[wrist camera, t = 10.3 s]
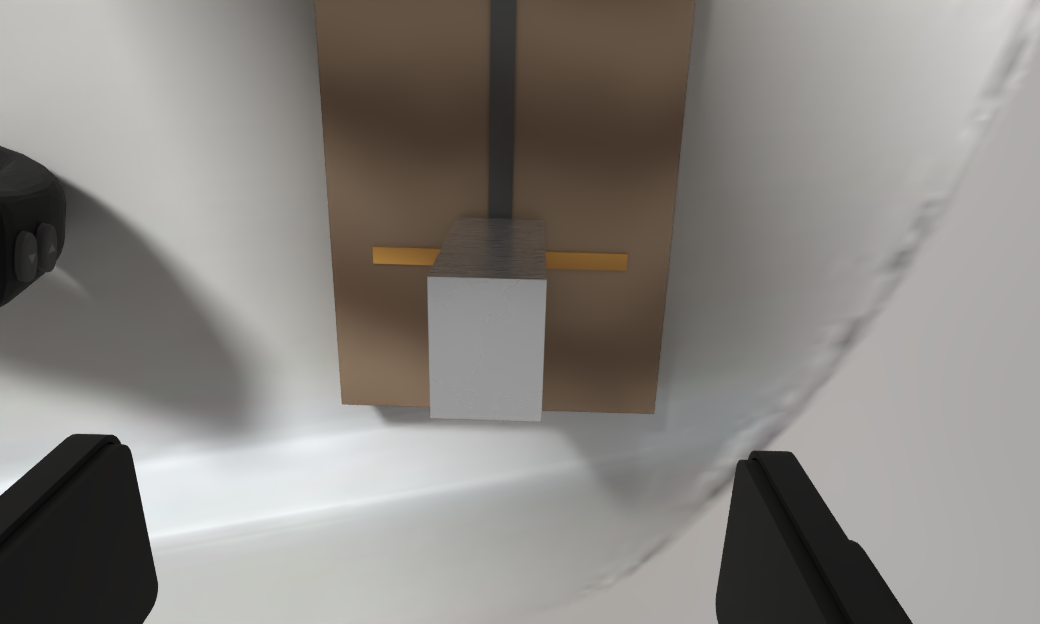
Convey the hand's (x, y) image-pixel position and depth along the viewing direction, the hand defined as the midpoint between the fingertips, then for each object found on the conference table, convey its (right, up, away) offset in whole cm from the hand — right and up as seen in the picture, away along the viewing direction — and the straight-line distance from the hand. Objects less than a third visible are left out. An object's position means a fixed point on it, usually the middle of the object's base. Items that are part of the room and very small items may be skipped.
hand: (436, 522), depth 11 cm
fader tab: (+1, +5, +14) cm, 15 cm away
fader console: (+1, +11, +14) cm, 18 cm away
